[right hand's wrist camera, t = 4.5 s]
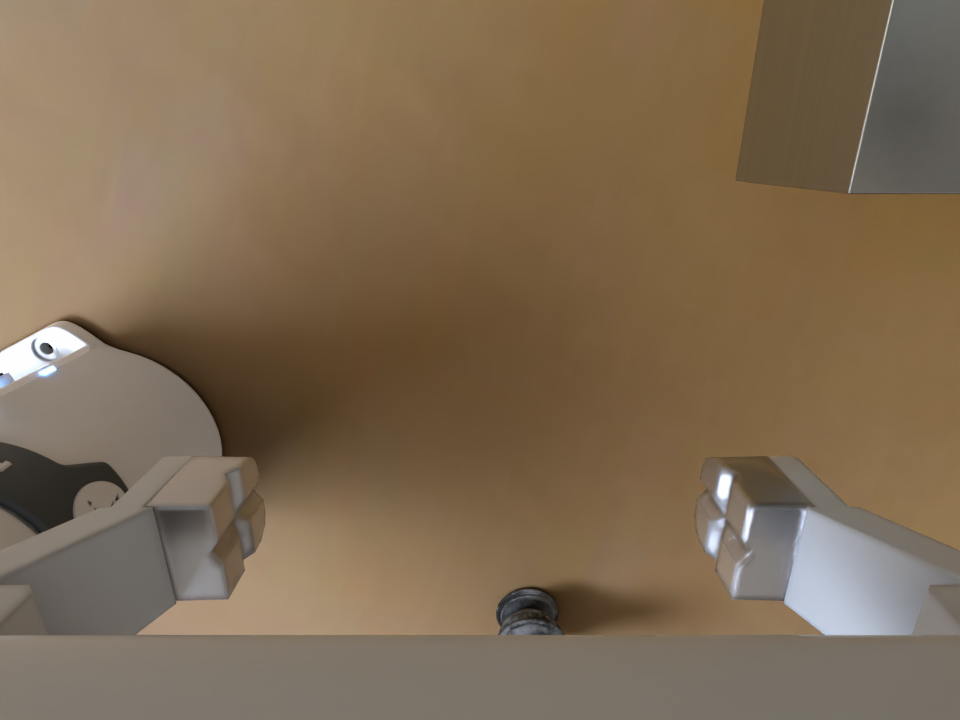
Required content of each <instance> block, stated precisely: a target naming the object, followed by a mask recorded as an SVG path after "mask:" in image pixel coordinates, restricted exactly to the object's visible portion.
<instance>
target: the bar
mask: <svg viewBox="0 0 960 720" xmlns="http://www.w3.org/2000/svg"><path fill="white" fill-rule="evenodd" d="M736 181H740V182H748V183H757V184H766V185H775V186H783V187H792V188H801V189H810V190H818V191H827V192H836V193H845V194H960V0H764V4H763V10H762V16H761V23H760V29H759V35H758V42H757V48H756V54H755V61H754V67H753V73H752V80H751V86H750V92H749V99H748V105H747V111H746V117H745V124H744V130H743V136H742V143H741V149H740V155H739V162H738V168H737V174H736Z"/></svg>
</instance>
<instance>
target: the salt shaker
mask: <svg viewBox="0 0 960 720" xmlns="http://www.w3.org/2000/svg"><path fill="white" fill-rule="evenodd" d="M496 617H497V621H498V623H499V625H500V626H501V628H500V631H499V634H498V635H565V634H564V633H563V631H562V630H561V628H560V627H559V626H558V624H557V623H556V621H557V618H558V607H557V604H556V602H555V601H554V599H553V598H552V597H551V596H549V595H548V594H547V593H545V592H542V591H540V590H535V589H521V590H517V591H514V592H512V593H510V594H508V595H507V596H505V597H504V598H503V599H502V600H501V602H500V603H499V604H498V607H497V610H496Z"/></svg>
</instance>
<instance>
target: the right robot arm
mask: <svg viewBox="0 0 960 720" xmlns="http://www.w3.org/2000/svg"><path fill="white" fill-rule="evenodd" d="M48 343H49V344H50V345H51V346H52V347H53V350H52V349H50V348H49V346H48ZM259 479H260V476H259V472H258V467H257V462H256V461H255V460H254V459H253V458H252V457H222V444H221V439H220V435H219V431H218V428H217V425H216V423H215V421H214V419H213V417H212V415H211V413H210V411H209V410H208V408H207V406H206V405H205V403H204V402H203V401H202V399H201V398H200V397H199V396H198V394H197V393H196V392H195V391H194V390H193V389H192V388H191V387H190V386H189V385H188V384H187V383H186V382H184V381H183V380H182V379H181V378H180V377H178V376H177V375H176V374H174V373H173V372H171V371H170V370H168V369H167V368H165V367H163V366H162V365H160V364H158V363H156V362H154V361H152V360H150V359H147V358H145V357H142V356H140V355H137V354H133V353H130V352H127V351H123V350H120V349H117V348H114V347H111V346H109V345H107V344H105V343H103V342H102V341H100V340H99V339H98V338H96V337H95V336H93V335H92V334H91V333H89V332H88V331H86V330H84V329H83V328H81V327H80V326H78V325H76V324H74V323H71V322H68V321H57V322H55V323H53V324H51V325H49V326H47V327H45V328H43V329H41V330H40V331H38V332H36V333H34V334H32V335H30V336H28V337H26V338H25V339H23V340H21V341H19V342H17V343H15V344H13V345H12V346H10V347H8V348H6V349H4V350H2V351H0V720H960V551H959V550H957V549H955V548H952V547H950V546H948V545H945V544H943V543H941V542H938V541H936V540H934V539H932V538H929V537H927V536H925V535H922V534H920V533H918V532H915V531H913V530H911V529H908V528H906V527H904V526H901V525H899V524H897V523H894V522H892V521H890V520H887V519H885V518H883V517H880V516H878V515H876V514H873V513H871V512H869V511H866V510H864V509H862V508H859V507H849V506H847V505H846V504H845V503H844V502H843V501H842V500H841V499H840V498H839V497H838V496H837V495H836V494H835V493H834V492H833V491H832V490H831V489H830V488H829V487H828V486H826V485H825V484H824V483H823V482H822V481H821V480H820V479H819V478H818V477H817V476H816V475H815V474H814V473H813V472H812V471H811V470H810V469H809V468H808V467H807V466H806V465H804V464H803V463H802V462H801V461H800V460H799V459H798V458H796V457H793V456H790V455H787V456H756V457H716V458H706V460H705V462H704V464H703V466H702V471H701V476H700V479H701V481H702V482H703V484H704V485H705V487H706V488H707V489H706V490H705V491H704V493H703V494H702V495H701V496H700V497H699V498H698V499H697V500H696V508H695V525H696V532H697V536H698V539H699V542H700V544H701V546H702V547H703V549H704V551H705V552H706V553H707V554H709V555H710V556H712V557H713V558H715V559H716V560H717V563H716V568H715V571H716V573H717V574H718V576H719V578H720V580H721V581H722V583H723V585H724V587H725V588H726V590H727V592H728V594H729V595H730V597H731V599H740V600H777V601H784V604H786V605H787V606H788V607H789V608H791V609H792V610H793V611H795V612H796V613H797V614H799V615H800V616H801V617H802V618H804V619H805V620H806V621H808V622H809V623H810V624H811V625H813V626H814V627H815V628H817V629H818V630H819V631H821V632H822V633H823V634H824V635H136V634H137V633H138V632H140V631H141V630H142V629H143V628H145V627H146V626H147V625H149V624H150V623H151V622H153V621H154V620H155V619H156V618H158V617H159V616H160V615H162V614H163V613H164V612H166V611H167V610H168V609H169V608H171V607H172V606H173V605H175V604H176V601H183V600H218V599H229V597H230V595H231V594H232V592H233V590H234V588H235V587H236V585H237V583H238V581H239V580H240V578H241V576H242V574H243V573H244V571H245V568H244V563H243V560H244V559H245V558H247V557H248V556H250V555H251V554H253V553H254V552H255V551H256V549H257V547H258V546H259V544H260V542H261V539H262V535H263V531H264V527H265V507H264V500H263V499H262V498H261V497H260V496H259V495H258V494H257V493H256V491H255V490H254V489H253V488H254V487H255V485H256V484H257V482H258V481H259Z"/></svg>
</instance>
